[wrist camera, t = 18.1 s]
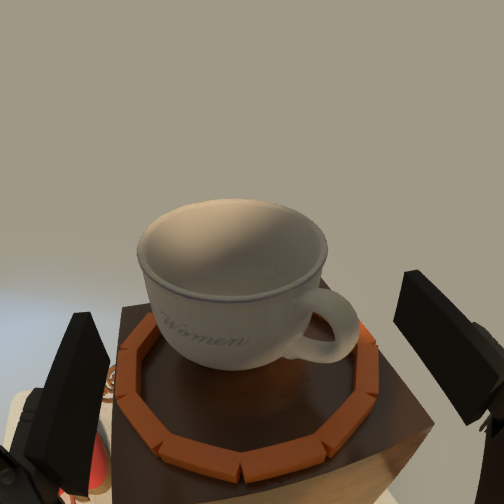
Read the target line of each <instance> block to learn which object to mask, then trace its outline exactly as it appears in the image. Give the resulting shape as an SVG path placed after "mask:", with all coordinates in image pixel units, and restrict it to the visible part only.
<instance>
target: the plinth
mask: <svg viewBox="0 0 504 504" xmlns="http://www.w3.org/2000/svg"><path fill="white" fill-rule="evenodd" d="M319 288H323V289H329V290H331V289H330V288H329V287H328V285H327V284H326V283H325V282H324V281H323V280H322V278H321V279H320V284H319ZM331 291H332V290H331ZM147 313H153V312H152V308H151V304H150V303H147V304H142V305H134V306H128V307H123V308H122V313H121V321H120V329H119V337H118V346H117V356H116V366H115V378H114V391H113V408H112V434H111V482H112V504H373V503H374V502H375V501H376V500H377V499H378V497H379V496H380V495H381V494H382V493H383V492H384V491H385V489H386V488H387V487H388V486H389V485H390V484H391V482H392V481H393V480H394V479H395V477H396V476H397V475H398V474H399V472H400V471H401V470H402V469H403V468H404V466H405V465H406V464H407V462H408V461H409V460H410V458H411V457H412V456H413V454H414V453H415V452H416V450H417V449H418V448H419V446H420V445H421V443H422V442H423V441H424V439H425V438H426V436H427V435H428V433H429V432H430V430H431V429H432V427H433V426H434V424H435V423H434V422H433V420H432V419H431V418H430V416H429V415H428V414H427V412H426V411H425V409H424V408H423V407H422V405H421V404H420V403H419V401H418V400H417V399H416V397H415V396H414V395H413V393H412V392H411V391H410V390H409V388H408V387H407V385H406V384H405V383H404V382H403V380H402V379H401V378H400V376H399V375H398V374H397V372H396V371H395V370H394V368H393V367H392V366H391V365H390V363H389V362H388V361H387V360H386V358H385V357H384V356H383V354H382V353H381V352H380V350H379V349H378V359H379V393H378V396H377V399H376V401H375V404H374V406H373V409H372V411H371V412H370V413H369V415H368V416H367V417H366V418H365V420H364V421H363V422H362V423H361V424H360V426H359V427H358V428H357V429H356V430H355V432H354V433H353V434H352V435H351V436H350V437H349V439H348V440H347V441H346V442H345V443H344V444H343V445H342V447H341V448H340V449H339V450H338V451H337V452H336V453H335V454H334V455H333V456H332V457H331V458H329V457H327V456H326V457H325V460H324V462H323V463H321V464H318V465H315V466H311V467H308V468H305V469H302V470H298V471H295V472H292V473H288V474H284V475H281V476H277V477H273V478H269V479H265V480H261V481H256V482H252V483H245V481H244V477H243V474H242V473H241V476H240V479H239V481H238V483H237V484H235V483H231V482H227V481H224V480H220V479H216V478H213V477H209V476H206V475H202V474H199V473H196V472H192V471H189V470H186V469H183V468H180V467H177V466H174V465H171V464H168V463H166V462H164V461H163V460H162V458H161V457H156V455H155V454H154V453H153V452H152V451H151V449H150V448H149V447H148V446H147V444H146V443H145V442H144V441H143V439H142V438H141V437H140V435H139V434H138V433H137V431H136V430H135V429H134V427H133V426H132V425H131V423H130V422H129V421H128V419H127V418H126V417H125V415H124V414H123V412H122V411H121V409H120V407H119V405H118V404H117V399H116V397H115V387H116V373H117V361H118V351H120V350H121V347H120V346H121V345H122V344H123V342H124V341H125V340H126V339H127V338H128V336H129V335H130V334H131V333H132V331H133V330H134V329H135V328H136V327H137V325H138V324H139V323H140V322H141V321H142V319H143V318H144V317H145V316H146V315H147ZM303 336H304V337H307V338H310V339H314V340H318V341H325V342H332V341H335V335H334V332H333V330H332V327H331V326H330V325H329V323H328V322H326V321H324V320H322V319H320V318H318V317H316V316H314V315H312V316H311V319H310V322H309V324H308V327H307V329H306V331H305V332H304V334H303ZM354 365H355V356H354V355H353V353H352V352H351V351H350V353H349V354H348V355H347V356H345V357H344V358H343V359H341V360H339V361H336V362H333V363H316V362H311V361H307V360H303V359H299V358H297V359H293V360H291V359H287V358H284V357H280V358H278V359H277V360H275V361H273V362H271V363H269V364H266V365H263V366H260V367H256V368H252V369H247V370H235V371H231V370H219V369H214V368H209V367H206V366H202V365H200V364H197V363H195V362H193V361H191V360H189V359H187V358H186V357H184V356H182V355H181V354H180V353H179V352H177V351H176V350H175V349H174V348H173V347H172V346H171V345H170V344H169V343H168V342H167V340H166V339H165V337H164V336H163V335H162V334H161V335H160V337H159V338H158V339H157V341H156V342H155V343H154V345H153V346H152V348H151V349H150V350H149V352H148V353H147V354H146V356H145V357H144V359H143V360H142V361H141V398H142V400H143V401H144V402H145V403H146V405H147V406H148V407H149V408H150V409H151V411H152V412H153V413H154V414H155V415H156V416H157V418H158V419H159V420H160V421H161V422H162V423H163V425H164V426H165V427H166V428H167V429H168V430H169V431H170V432H171V433H172V434H175V435H178V436H181V437H184V438H188V439H191V440H194V441H198V442H201V443H205V444H209V445H212V446H216V447H220V448H224V449H228V450H232V451H236V452H241V453H242V452H246V451H251V450H255V449H260V448H264V447H268V446H272V445H276V444H280V443H284V442H287V441H291V440H294V439H298V438H301V437H305V436H308V435H311V434H314V433H315V432H316V431H317V430H318V429H319V428H320V427H321V426H322V425H323V424H324V423H325V422H326V421H327V420H328V419H329V418H330V417H331V416H332V415H333V414H334V412H335V411H336V410H337V409H338V408H339V407H340V406H341V405H342V404H343V403H344V402H345V401H346V399H347V398H348V397H349V396H350V395H351V394H352V392H353V379H354Z"/></svg>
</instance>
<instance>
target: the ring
mask: <svg viewBox="0 0 504 504" xmlns="http://www.w3.org/2000/svg"><path fill="white" fill-rule="evenodd" d="M152 312H153V311H152ZM312 315H314V316H316V317H318V318H320V319H322V320H324V321H326V320H325V319H324V318H323V317H322V316H320V315H319V314H317V313H315V312H313V313H312ZM326 322H327V321H326ZM359 325H360V331H359V339H358V341H357V343H356V345H355V346H354V348H353V349H352V350H351V352H352V353H353V355H354V356H355V365H354V379H353V392H352V394H351V395H350V396H349V397H348V398H347V399H346V401H345V402H344V403H343V404H342V405H341V406H340V407H339V408H338V409H337V410H336V411H335V412H334V414H333V415H332V416H331V417H330V418H329V419H328V420H327V421H326V422H325V423H324V424H323V425H322V426H321V427H320V428H319V429H318V430H317V431H316V432H315V433H314V434H311V435H308V436H305V437H301V438H298V439H294V440H291V441H287V442H284V443H280V444H276V445H272V446H268V447H264V448H260V449H255V450H251V451H246V452H242V453H241V452H236V451H232V450H228V449H224V448H220V447H216V446H212V445H209V444H205V443H201V442H198V441H194V440H191V439H188V438H184V437H181V436H178V435H175V434H172V433H171V432H170V431H169V430H168V429H167V428H166V427H165V426H164V425H163V423H162V422H161V421H160V420H159V419H158V418H157V416H156V415H155V414H154V413H153V412H152V411H151V409H150V408H149V407H148V406H147V405H146V403H145V402H144V401H143V400H142V398H141V361H142V360H143V359H144V357H145V356H146V354H147V353H148V352H149V350H150V349H151V348H152V346H153V345H154V343H155V342H156V341H157V339H158V338H159V337H160V335H161V334H162V333H161V331H160V329H159V327H158V325H157V322H156V320H155V317H154V314H153V313H147V315H146V316H145V317H144V318H143V319H142V321H141V322H140V323H139V324H138V325H137V327H136V328H135V329H134V330H133V331H132V333H131V334H130V335H129V336H128V338H127V339H126V340H125V341H124V342H123V344H122V345H121V346H120V347H121V350H120V351H118V361H117V373H116V387H115V397H116V399H117V404H118V405H119V407H120V409H121V411H122V412H123V414H124V415H125V417H126V418H127V419H128V421H129V422H130V423H131V425H132V426H133V427H134V429H135V430H136V431H137V433H138V434H139V435H140V437H141V438H142V439H143V441H144V442H145V443H146V444H147V446H148V447H149V448H150V449H151V451H152V452H153V453H154V454H155V455H156V457H161V458H162V460H163V461H164V462H166V463H168V464H171V465H174V466H177V467H180V468H183V469H186V470H189V471H192V472H196V473H199V474H202V475H206V476H209V477H213V478H216V479H220V480H224V481H227V482H231V483H235V484H237V483H238V481H239V479H240V476H241V473H242V474H243V477H244V481H245V483H252V482H256V481H261V480H265V479H269V478H273V477H277V476H281V475H284V474H288V473H292V472H295V471H298V470H302V469H305V468H308V467H311V466H315V465H318V464H321V463H323V462H324V460H325V457H326V456H327V457H329V458H331V457H332V456H333V455H334V454H335V453H336V452H337V451H338V450H339V449H340V448H341V447H342V445H343V444H344V443H345V442H346V441H347V440H348V439H349V437H350V436H351V435H352V434H353V433H354V432H355V430H356V429H357V428H358V427H359V426H360V424H361V423H362V422H363V421H364V420H365V418H366V417H367V416H368V415H369V413H370V412H371V411H372V409H373V406H374V404H375V401H376V399H377V396H378V393H379V359H378V345H375V344H376V340H375V339H374V338H373V336H372V335H371V334H370V333H369V331H368V330H367V329H366V328H365V326H364V325H363V324H362V323H361V321H360V320H359Z"/></svg>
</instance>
